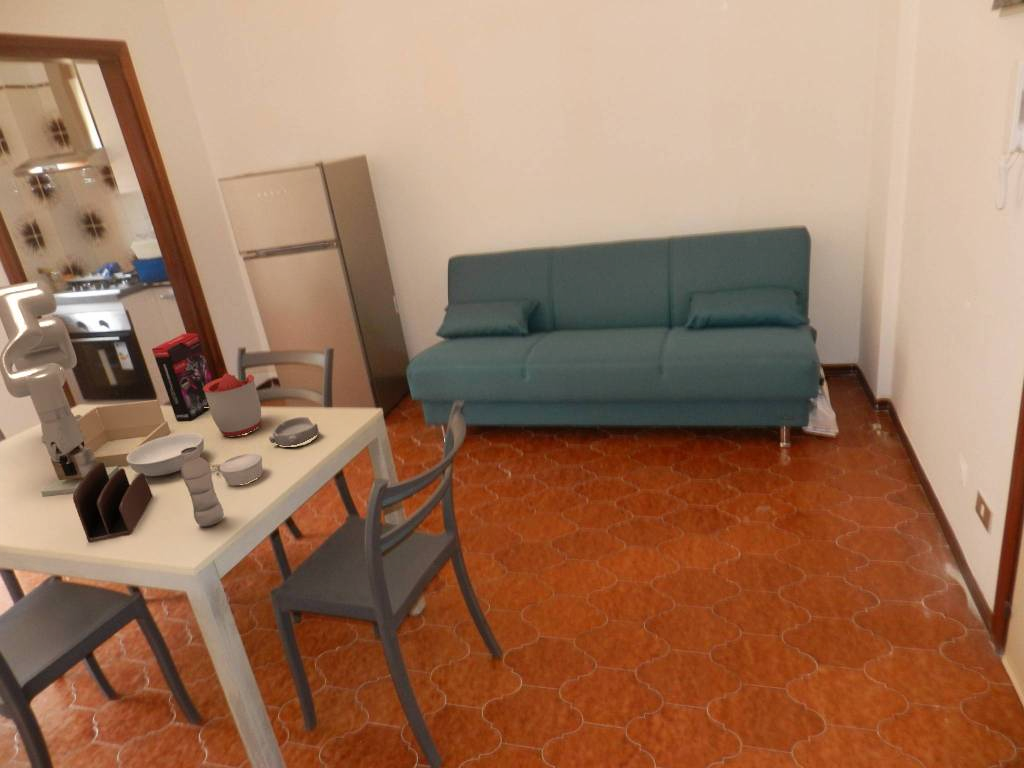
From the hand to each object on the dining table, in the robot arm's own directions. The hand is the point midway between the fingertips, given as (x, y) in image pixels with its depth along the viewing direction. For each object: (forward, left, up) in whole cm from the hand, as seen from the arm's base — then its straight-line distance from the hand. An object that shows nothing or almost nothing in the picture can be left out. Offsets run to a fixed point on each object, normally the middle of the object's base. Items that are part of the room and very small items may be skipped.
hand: (77, 470), depth 200 cm
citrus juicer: (-28, +38, -5) cm, 47 cm away
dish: (-14, +60, -5) cm, 62 cm away
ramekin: (+9, +52, -5) cm, 53 cm away
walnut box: (0, 0, -1) cm, 1 cm away
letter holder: (+25, +25, -5) cm, 36 cm away
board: (0, 0, -4) cm, 4 cm away
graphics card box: (-50, +13, -5) cm, 52 cm away
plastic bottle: (+32, +52, -5) cm, 61 cm away
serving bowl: (-4, +25, -5) cm, 26 cm away
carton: (-21, 0, -4) cm, 21 cm away
